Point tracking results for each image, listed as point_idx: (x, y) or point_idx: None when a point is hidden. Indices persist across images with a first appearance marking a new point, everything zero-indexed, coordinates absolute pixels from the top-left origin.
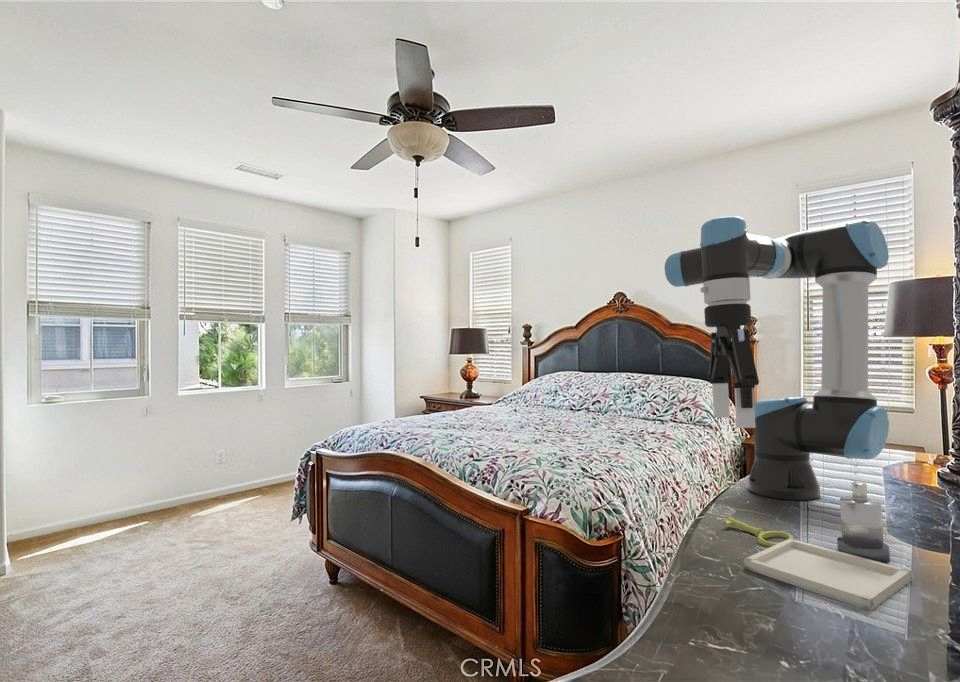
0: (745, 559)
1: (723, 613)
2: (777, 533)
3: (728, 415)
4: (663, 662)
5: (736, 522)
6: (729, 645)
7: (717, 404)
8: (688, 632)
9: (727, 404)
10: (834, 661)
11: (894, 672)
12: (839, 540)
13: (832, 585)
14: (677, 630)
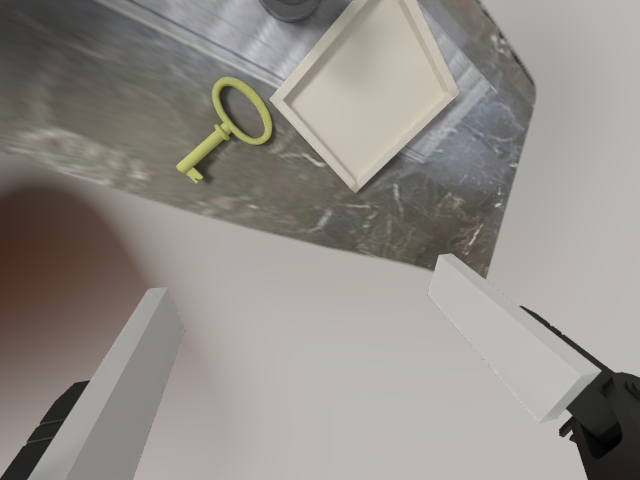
0: (356, 191)
1: (436, 228)
2: (219, 100)
3: (166, 296)
4: (480, 268)
5: (195, 162)
6: (473, 232)
7: (161, 373)
8: (455, 253)
9: (144, 340)
10: (504, 171)
11: (525, 134)
12: (281, 8)
13: (426, 118)
14: None
